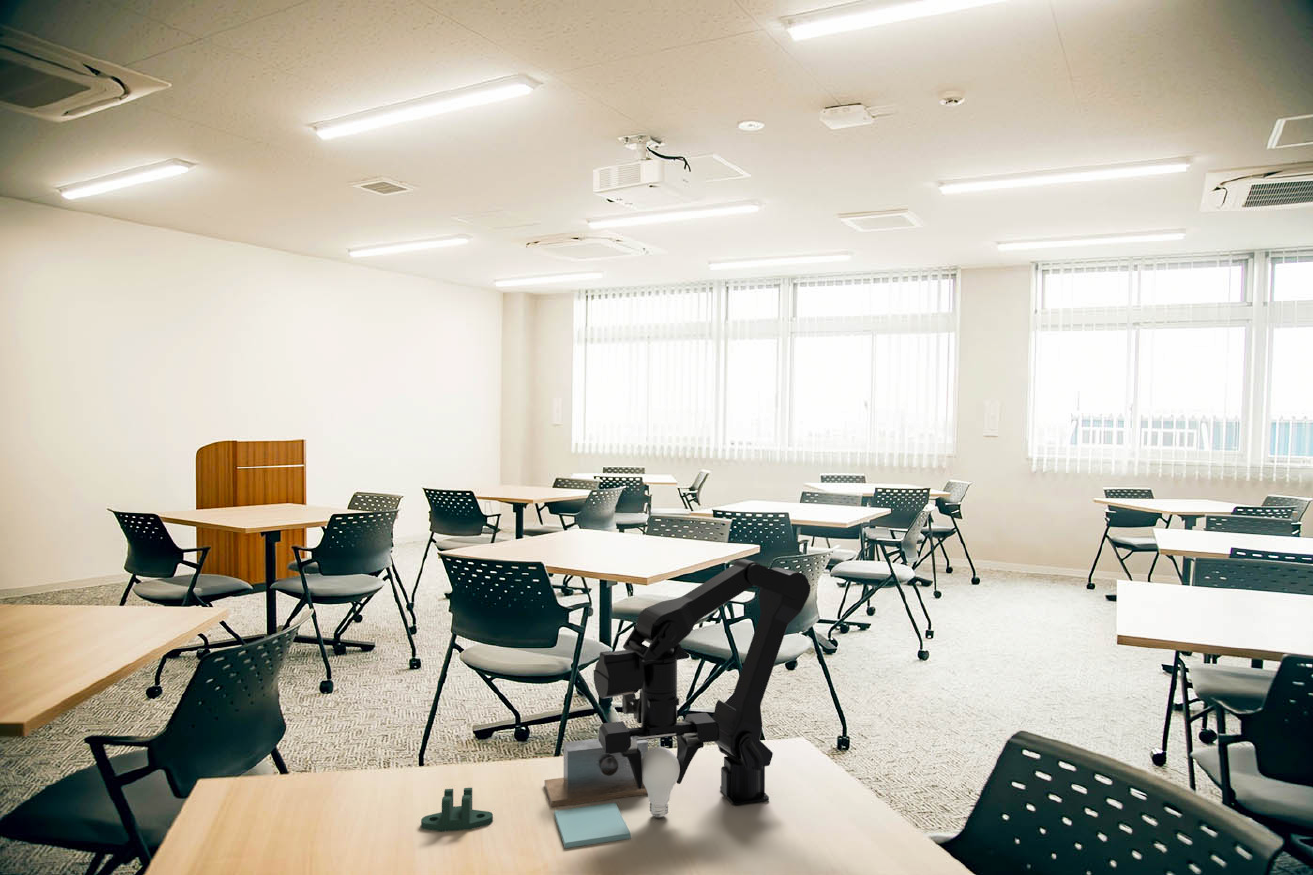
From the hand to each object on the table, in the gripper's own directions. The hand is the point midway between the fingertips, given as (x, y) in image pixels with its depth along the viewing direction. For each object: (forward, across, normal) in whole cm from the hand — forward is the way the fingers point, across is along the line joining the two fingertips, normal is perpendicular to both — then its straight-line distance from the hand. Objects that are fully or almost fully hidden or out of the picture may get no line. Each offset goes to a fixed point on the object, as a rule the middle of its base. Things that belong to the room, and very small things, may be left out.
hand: (658, 785), depth 123 cm
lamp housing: (+5, +6, -12) cm, 14 cm away
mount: (+6, +31, -7) cm, 32 cm away
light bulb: (+5, 0, 0) cm, 5 cm away
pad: (+5, +11, 0) cm, 12 cm away
